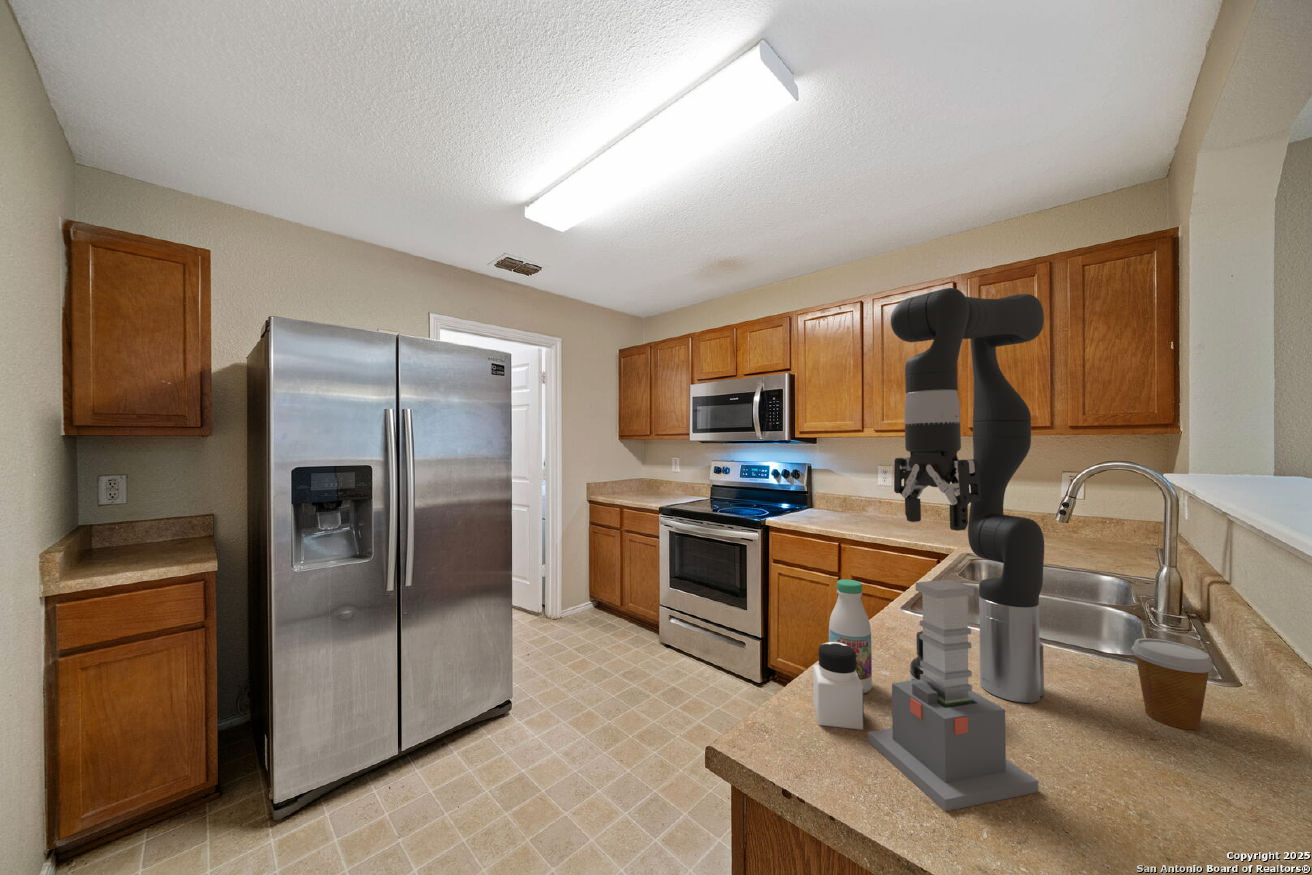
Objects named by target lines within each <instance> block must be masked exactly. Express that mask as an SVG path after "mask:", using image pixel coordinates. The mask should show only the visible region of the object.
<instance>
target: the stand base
mask: <svg viewBox="0 0 1312 875" xmlns="http://www.w3.org/2000/svg"><path fill="white" fill-rule="evenodd" d="M968 693H969V698H970V699H972V704H969V705H962V706H956V707H949V708H944V707H943V706H941V705H940V704H938V693H937V692H936V691H934V690H933V689H931V688H929V687H928V686H926V685H925V684H923V680H921V679H920V680H912V681H910V680H907V681H905V680H904V681H898V682H891V701H892V702H891V704H892V708H891V709H892V712H891V713H892V715H891V716H892V718H891V719H892V720H891V722H892V723H891V724H892V727H890V728H883V729H877V730H871V731H867V742H868V743H869V744H870V745H871V746H872V747H874V748H875V750H877V751H878V752H879V753H880V754H881V755H882V756H883V757H884V758H886V760H888V761H889V762H890V763H891V764H892V765H893V766H894V767H896V768H897V769H898V770H899V771H900V772H901V773H902V774H903V775H904V776H905V777H906V778H908V779H909V780H910V781H911V782H912V783H913V784H914V785H916V786H917V787H918V789H920V790H921V791H922V792H923V793H924V794H925V795H926V796H927V797H929V799H931V801H933V802H934V803H935V804H936V805H937V806H939V807H940V809H942V810H943V811H944V812H950V811H954V810H959V809H960V810H961V809H964V808H969V807H974V806H977V805H983V804H989V803H992V802H997V801H1002V800H1007V799H1012V798H1016V797H1017V798H1018V797H1022V796H1027V795H1031V794H1035V793H1039V780H1038V779H1036V778H1035V777H1033V776H1032V775H1030V774H1029V773H1027V771H1024V770H1023V769H1021V768H1020V767H1019V766H1017V765H1016V764H1014V763H1013V762H1011V761H1010V760H1008V759H1007V757H1006V754H1007V753H1006V709H1005V708H1003V707H1002V706H1000V705H998V704H996V703H994V702H993V701H991V700H989V699H987V698H986V697H984V696H982V695H981V694H979V693H977V692H975V691H974V690H972V691H968Z"/></svg>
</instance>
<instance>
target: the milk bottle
mask: <svg viewBox="0 0 1312 875" xmlns="http://www.w3.org/2000/svg"><path fill="white" fill-rule="evenodd" d="M836 589H837V590H836V593H837V595H838V596H837V600H836V603H835V606H834V607H833V610H832V611H831V614H830V618H829V623H828V626H829V627H828V642H838V643H843V644H845V645H848V646H850V647H851V648H853V649H854V651H855V652H856V673H857V675H858V677H859V679H860V681H861V684H862V686H863V694H867V693H868V692H870V691H871V690H872V687H873V686H872V685H873V677H872V676H873V675H872V674H873V670H872V668H873V666H872V663H873V662H872V656H873V654H872V629H871V623H870V619H869V617H868V614H867V612H866V610H865V607H864V605H863V602H862V595H863V584H862V583H861V582H860V581H857V580H853V579H845V578H844V579H839V580H837V582H836Z"/></svg>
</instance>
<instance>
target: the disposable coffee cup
mask: <svg viewBox="0 0 1312 875" xmlns="http://www.w3.org/2000/svg"><path fill="white" fill-rule="evenodd" d="M1131 651H1132V652H1133V654H1134V655H1135V660H1136V666H1137V670H1138V677H1139V681H1140V687H1141V693H1142V698H1143V703H1144V710H1145V713H1146V715H1147V716H1149V717H1150V718H1151V719H1154V721H1155V720H1156V721H1157V722H1159V723H1162V724H1165V725H1168V726H1171V727H1174V728H1178V729H1183V730H1192V729H1193V730H1198V729H1200V726H1201V719H1202V715H1203V709H1204V702H1205V698H1206V697H1205V696H1206V690H1207V685H1208V684H1207V683H1208V680H1209V678H1208V677H1209V673H1210V671H1211V669H1213V667H1214V663H1213V662H1211V660H1210V657H1209V655H1208V654H1207V653H1206V652H1204V651H1203V650H1201V649H1198V648H1196V647H1193V646H1189V645H1186V644H1183V643H1179V642H1174V641H1170V640H1166V639H1158V638H1156V639H1155V638H1149V637H1147V638H1143V637H1142V638H1137V639H1135V641H1134V643H1133V645H1132V646H1131ZM1197 728H1198V729H1197Z"/></svg>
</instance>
